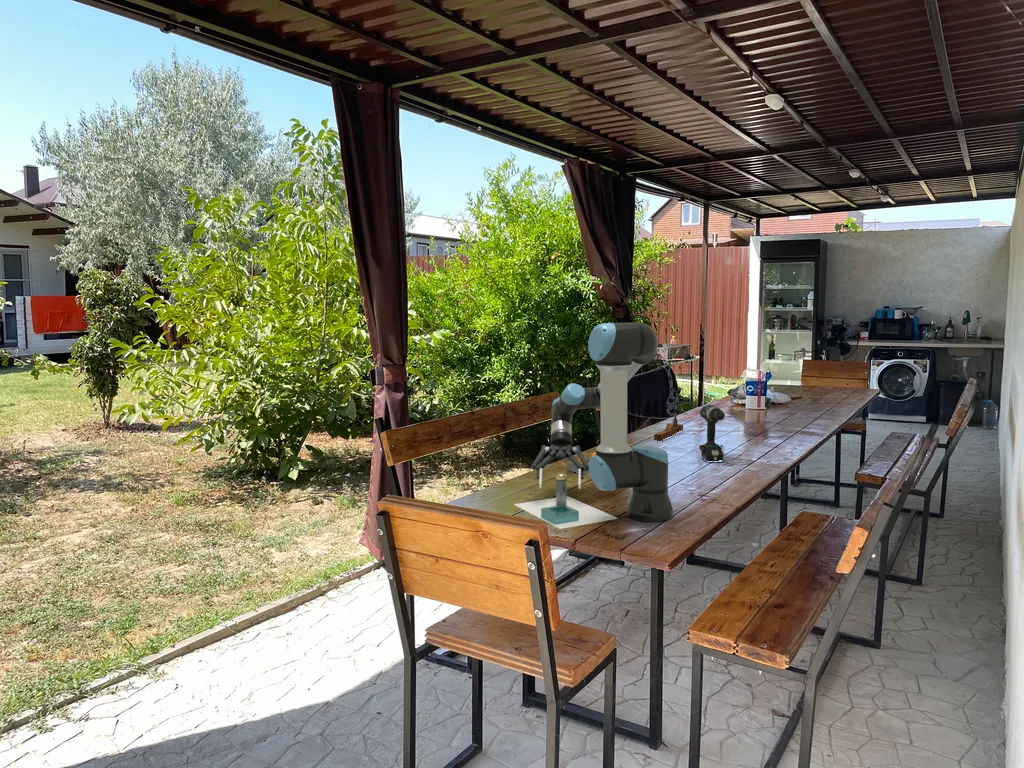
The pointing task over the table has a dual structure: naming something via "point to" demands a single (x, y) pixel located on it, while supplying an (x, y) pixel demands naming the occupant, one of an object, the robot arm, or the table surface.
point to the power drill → (711, 433)
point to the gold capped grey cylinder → (561, 488)
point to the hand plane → (669, 430)
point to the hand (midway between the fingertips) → (559, 486)
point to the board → (585, 511)
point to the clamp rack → (573, 468)
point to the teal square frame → (559, 514)
